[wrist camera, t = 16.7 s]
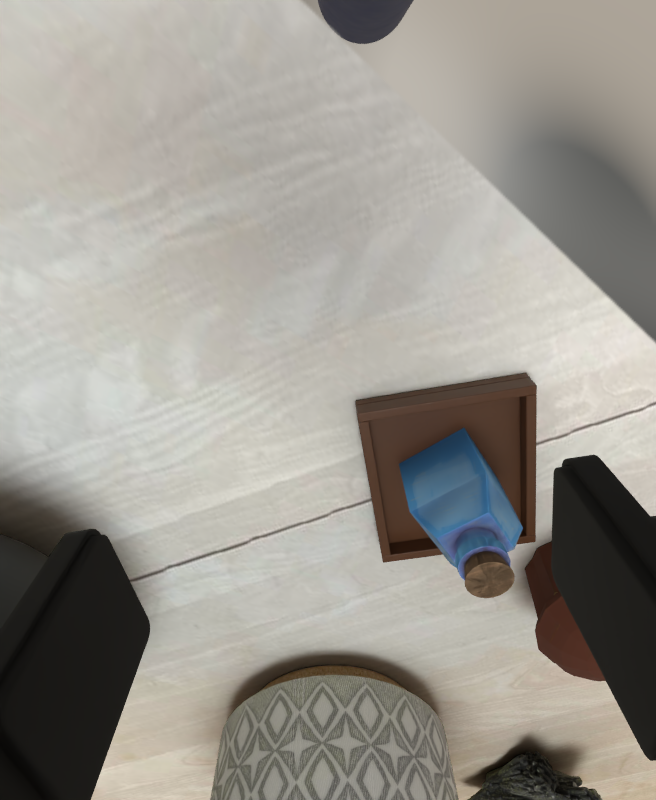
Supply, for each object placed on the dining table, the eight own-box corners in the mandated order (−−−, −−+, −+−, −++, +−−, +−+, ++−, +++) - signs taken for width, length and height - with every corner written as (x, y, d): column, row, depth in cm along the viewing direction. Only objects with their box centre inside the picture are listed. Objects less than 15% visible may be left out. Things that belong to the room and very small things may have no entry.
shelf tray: (355, 400, 41) (356, 414, 39) (526, 372, 40) (537, 385, 38) (380, 544, 48) (383, 562, 46) (526, 524, 47) (535, 542, 45)
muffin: (574, 501, 45) (634, 589, 37) (657, 551, 48) (732, 644, 39) (486, 582, 50) (521, 677, 41) (567, 623, 53) (616, 721, 44)
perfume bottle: (464, 427, 41) (513, 528, 30) (497, 478, 43) (554, 588, 33) (398, 463, 43) (423, 571, 32) (434, 511, 45) (468, 626, 34)
